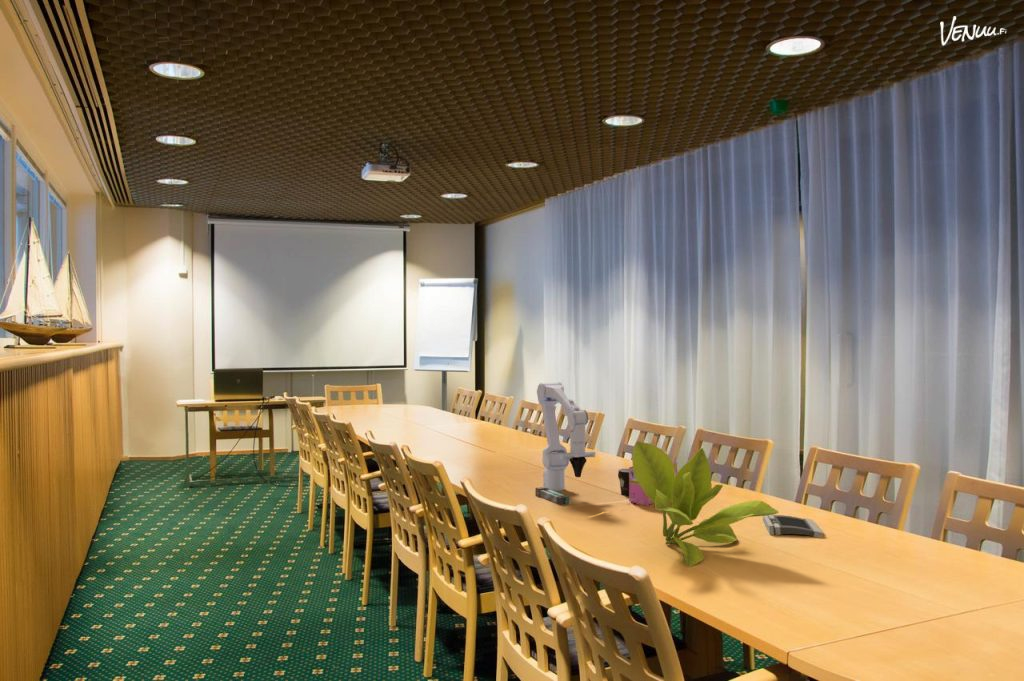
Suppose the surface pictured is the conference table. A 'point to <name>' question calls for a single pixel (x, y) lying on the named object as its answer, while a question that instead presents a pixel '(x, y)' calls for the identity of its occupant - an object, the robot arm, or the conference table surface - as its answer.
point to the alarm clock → (791, 525)
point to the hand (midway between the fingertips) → (577, 476)
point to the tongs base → (548, 495)
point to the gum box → (640, 489)
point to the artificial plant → (688, 498)
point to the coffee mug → (624, 481)
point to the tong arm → (566, 498)
